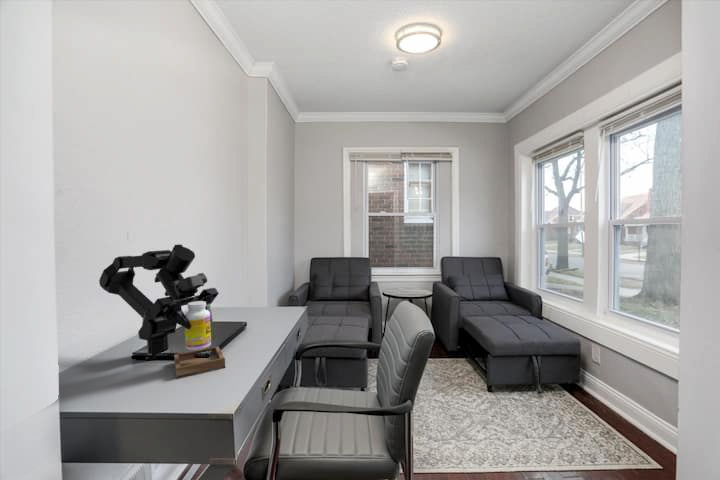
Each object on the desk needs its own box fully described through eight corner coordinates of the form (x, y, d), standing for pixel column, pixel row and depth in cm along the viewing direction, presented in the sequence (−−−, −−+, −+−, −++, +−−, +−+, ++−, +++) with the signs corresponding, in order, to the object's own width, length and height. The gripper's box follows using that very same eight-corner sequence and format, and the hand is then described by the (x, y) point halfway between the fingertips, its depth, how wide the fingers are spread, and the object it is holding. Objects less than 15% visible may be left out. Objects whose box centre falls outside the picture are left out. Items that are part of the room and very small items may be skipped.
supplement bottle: (209, 349, 92) (207, 304, 92) (183, 352, 90) (181, 306, 90) (212, 341, 99) (210, 299, 98) (188, 344, 97) (186, 301, 96)
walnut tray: (174, 363, 96) (174, 354, 96) (218, 354, 103) (218, 345, 103) (176, 378, 86) (176, 368, 86) (225, 367, 92) (224, 358, 92)
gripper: (154, 269, 87) (183, 315, 82) (213, 262, 103) (240, 300, 99) (137, 296, 91) (164, 341, 86) (197, 285, 107) (222, 322, 103)
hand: (200, 324), depth 93 cm, fingers closed on supplement bottle, 7 cm apart
